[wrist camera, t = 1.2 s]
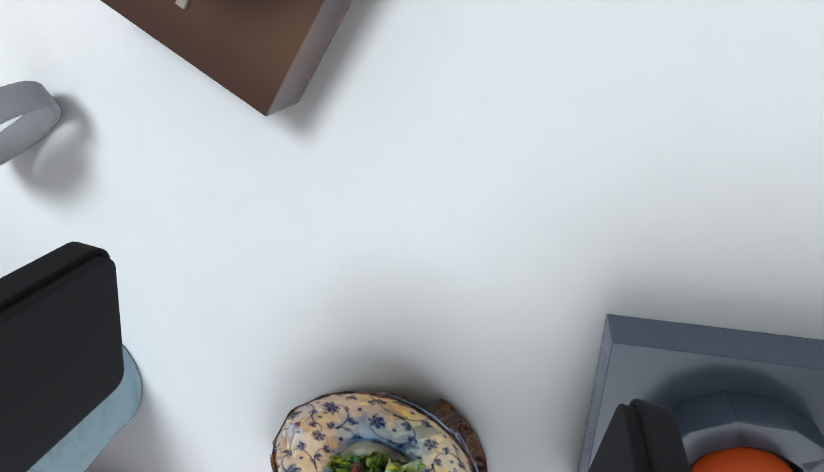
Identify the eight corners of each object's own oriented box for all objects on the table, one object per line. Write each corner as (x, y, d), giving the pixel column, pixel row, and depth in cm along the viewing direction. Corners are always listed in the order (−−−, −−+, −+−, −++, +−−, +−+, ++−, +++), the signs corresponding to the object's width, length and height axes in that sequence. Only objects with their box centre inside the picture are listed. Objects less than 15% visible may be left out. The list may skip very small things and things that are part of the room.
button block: (892, 348, 22) (959, 416, 18) (815, 521, 26) (857, 604, 22) (606, 313, 24) (617, 369, 21) (576, 478, 28) (581, 548, 25)
